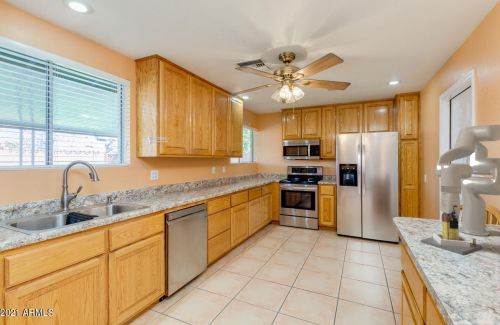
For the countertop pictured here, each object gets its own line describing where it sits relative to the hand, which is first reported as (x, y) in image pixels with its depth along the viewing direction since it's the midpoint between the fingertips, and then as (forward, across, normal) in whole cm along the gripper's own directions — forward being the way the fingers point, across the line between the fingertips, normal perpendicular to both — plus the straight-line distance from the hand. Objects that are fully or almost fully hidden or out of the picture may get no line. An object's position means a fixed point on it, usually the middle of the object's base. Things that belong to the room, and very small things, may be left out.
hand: (450, 226), depth 115 cm
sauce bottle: (+8, 0, 0) cm, 8 cm away
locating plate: (+9, 0, 0) cm, 9 cm away
